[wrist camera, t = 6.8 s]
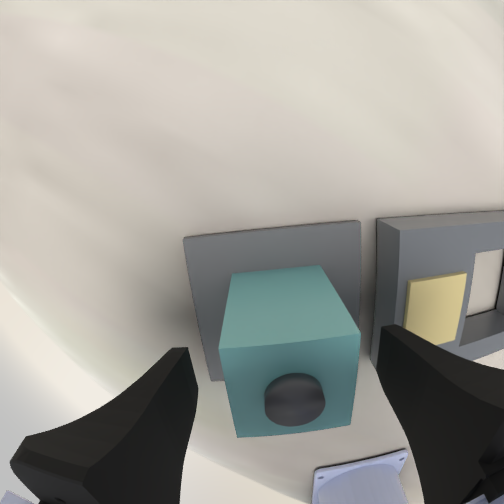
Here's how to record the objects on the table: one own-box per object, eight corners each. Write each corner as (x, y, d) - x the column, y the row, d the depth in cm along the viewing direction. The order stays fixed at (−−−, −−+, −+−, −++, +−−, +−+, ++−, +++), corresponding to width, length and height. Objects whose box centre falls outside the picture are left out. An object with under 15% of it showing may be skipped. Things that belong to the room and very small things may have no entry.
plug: (320, 338, 15) (353, 436, 9) (242, 347, 15) (236, 450, 9) (319, 264, 14) (367, 344, 7) (231, 273, 14) (216, 361, 8)
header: (526, 314, 15) (548, 330, 13) (369, 359, 16) (386, 389, 13) (543, 208, 13) (571, 217, 10) (377, 218, 14) (403, 232, 11)
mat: (353, 362, 16) (355, 366, 15) (211, 376, 16) (211, 381, 16) (357, 220, 14) (360, 222, 13) (184, 237, 14) (182, 239, 14)
